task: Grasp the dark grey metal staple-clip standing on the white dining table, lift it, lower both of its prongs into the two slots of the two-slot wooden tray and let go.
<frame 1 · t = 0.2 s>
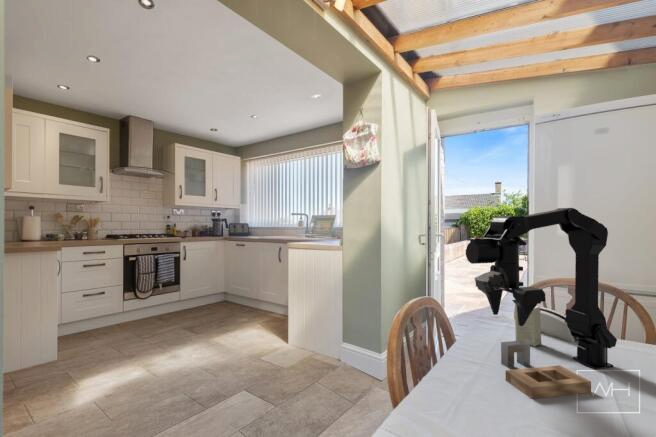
hand: (507, 319, 82), 13 cm above the table, fingers open, 9 cm apart
two-slot wooden tray: (546, 385, 74), on the table
skincare box: (527, 342, 101), on the table
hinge: (548, 334, 109), on the table
clip: (515, 364, 85), on the table
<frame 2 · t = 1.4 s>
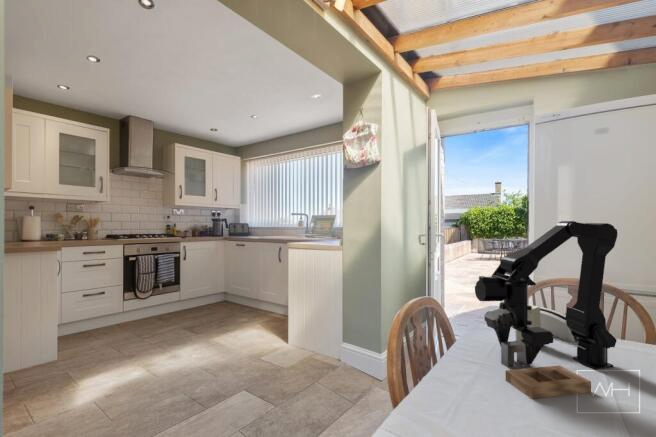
hand: (515, 356, 85), 2 cm above the table, fingers open, 9 cm apart
nothing on the table moved.
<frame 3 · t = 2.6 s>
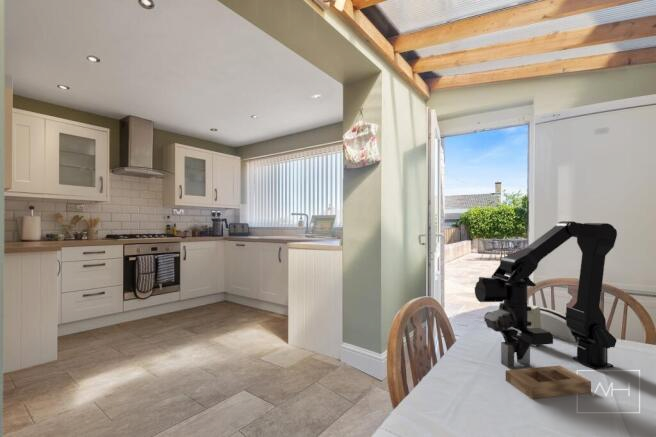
hand: (515, 357, 85), 2 cm above the table, fingers closed on clip, 2 cm apart
clip: (515, 364, 85), on the table, touching gripper
everything else where it was.
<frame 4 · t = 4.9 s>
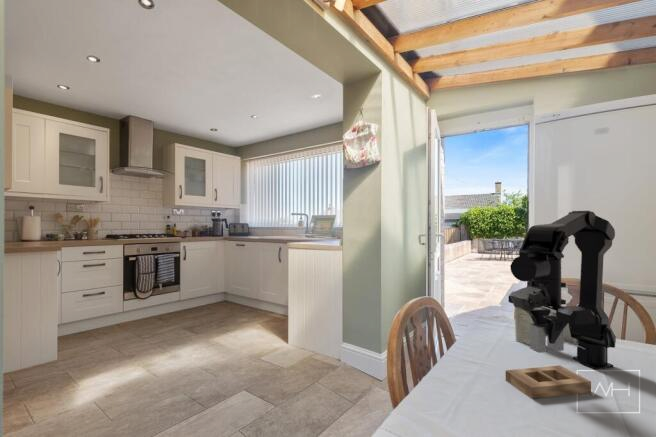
hand: (546, 341, 74), 11 cm above the table, fingers closed on clip, 2 cm apart
clip: (546, 349, 74), point 9 cm above the table, touching gripper
everything else where it was.
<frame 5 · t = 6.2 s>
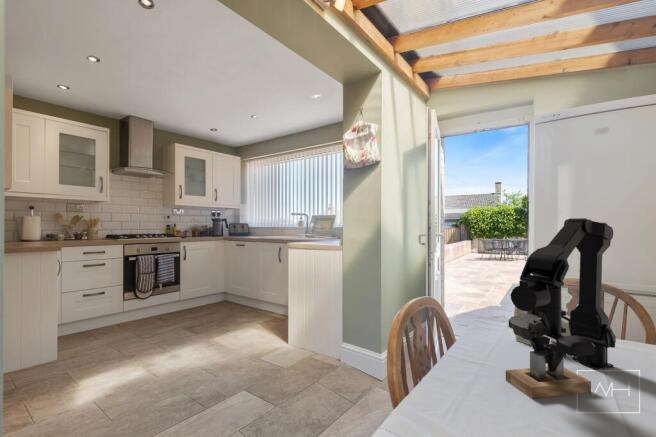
hand: (546, 368, 74), 4 cm above the table, fingers closed on clip, 2 cm apart
clip: (546, 377, 74), point 2 cm above the table, touching gripper
everything else where it was.
when the fingers open (3 cm above the table, at t = 7.0 s): clip drops 1 cm, resting in two-slot wooden tray.
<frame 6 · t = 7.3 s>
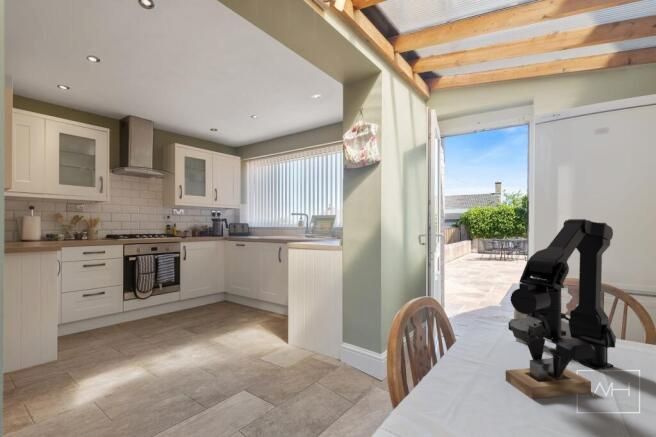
hand: (546, 371, 74), 3 cm above the table, fingers open, 5 cm apart
clip: (546, 385, 74), resting in two-slot wooden tray
everything else where it was.
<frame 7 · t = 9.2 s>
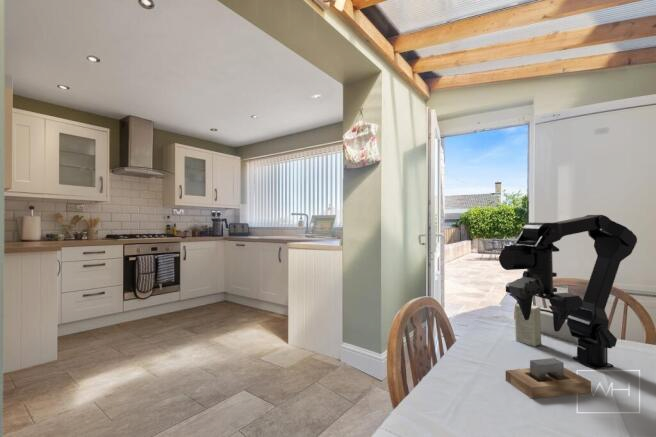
hand: (540, 325, 83), 12 cm above the table, fingers open, 9 cm apart
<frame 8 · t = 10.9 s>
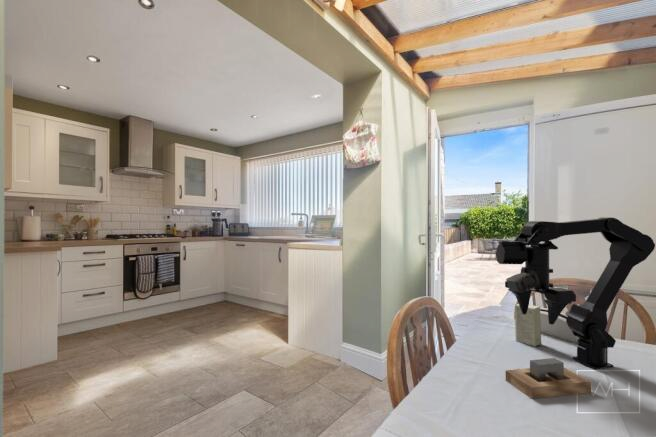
hand: (537, 318, 88), 12 cm above the table, fingers open, 9 cm apart
at the end: clip 0.0 cm from the target spot, resting in two-slot wooden tray; clip tilted 0°; the gripper is holding nothing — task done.
